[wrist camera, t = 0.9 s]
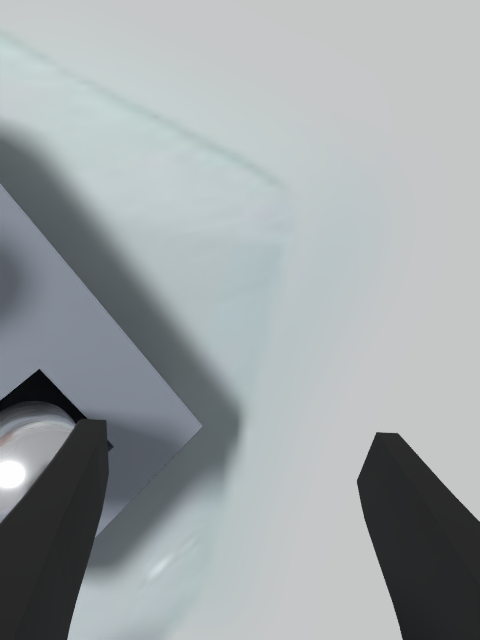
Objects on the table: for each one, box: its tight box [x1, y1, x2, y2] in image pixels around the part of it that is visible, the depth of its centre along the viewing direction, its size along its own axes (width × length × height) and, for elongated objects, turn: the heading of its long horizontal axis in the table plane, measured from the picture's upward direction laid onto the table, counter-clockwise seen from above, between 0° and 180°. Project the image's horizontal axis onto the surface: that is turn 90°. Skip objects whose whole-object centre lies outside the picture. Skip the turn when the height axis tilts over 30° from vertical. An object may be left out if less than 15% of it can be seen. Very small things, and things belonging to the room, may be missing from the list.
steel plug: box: [0, 401, 76, 523], centre depth 15 cm, size 4×4×4 cm
